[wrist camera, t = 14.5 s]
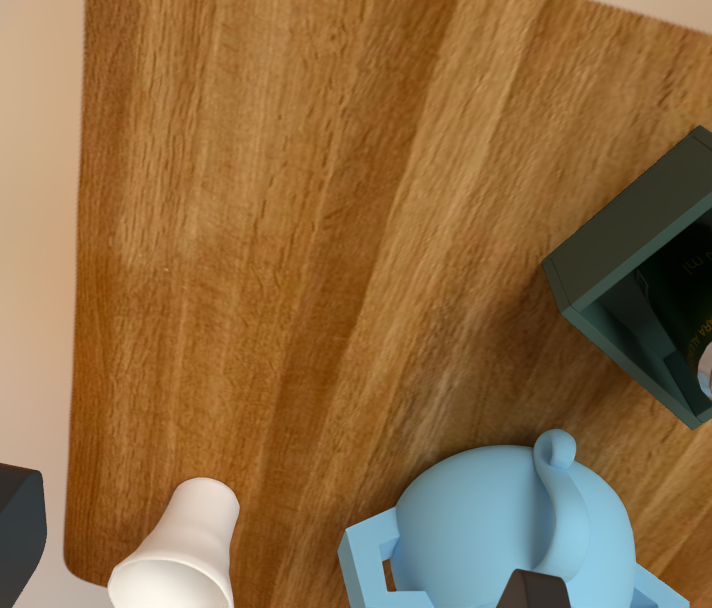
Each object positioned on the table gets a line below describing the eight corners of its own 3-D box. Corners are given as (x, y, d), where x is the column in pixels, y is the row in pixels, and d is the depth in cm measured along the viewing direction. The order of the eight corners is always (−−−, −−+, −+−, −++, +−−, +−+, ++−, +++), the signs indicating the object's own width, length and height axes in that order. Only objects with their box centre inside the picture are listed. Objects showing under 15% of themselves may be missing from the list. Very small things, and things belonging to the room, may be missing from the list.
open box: (699, 124, 36) (752, 158, 30) (819, 253, 38) (887, 306, 33) (540, 261, 40) (559, 314, 35) (657, 367, 43) (692, 431, 38)
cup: (237, 552, 56) (203, 663, 47) (139, 504, 54) (85, 612, 46) (286, 491, 52) (259, 601, 43) (182, 438, 50) (132, 542, 42)
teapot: (342, 474, 50) (319, 641, 38) (579, 380, 44) (638, 543, 32) (456, 617, 58) (465, 795, 46) (672, 553, 52) (749, 739, 40)
